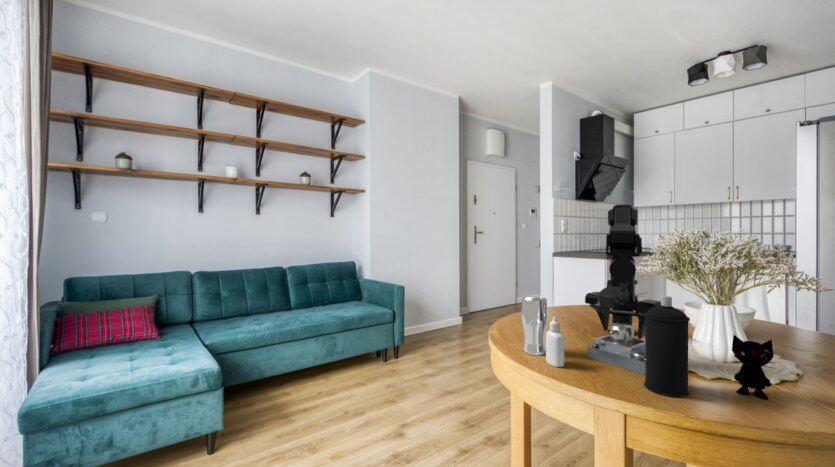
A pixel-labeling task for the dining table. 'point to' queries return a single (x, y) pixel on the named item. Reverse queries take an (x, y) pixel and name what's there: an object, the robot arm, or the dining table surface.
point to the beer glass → (534, 324)
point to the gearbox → (619, 353)
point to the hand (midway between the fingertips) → (622, 334)
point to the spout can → (622, 334)
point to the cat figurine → (752, 365)
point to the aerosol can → (666, 350)
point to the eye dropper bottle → (555, 345)
